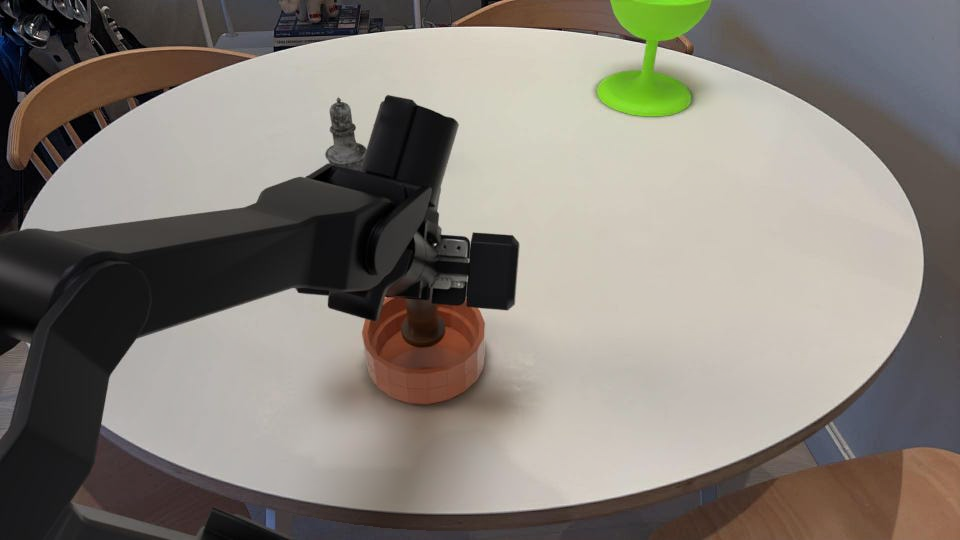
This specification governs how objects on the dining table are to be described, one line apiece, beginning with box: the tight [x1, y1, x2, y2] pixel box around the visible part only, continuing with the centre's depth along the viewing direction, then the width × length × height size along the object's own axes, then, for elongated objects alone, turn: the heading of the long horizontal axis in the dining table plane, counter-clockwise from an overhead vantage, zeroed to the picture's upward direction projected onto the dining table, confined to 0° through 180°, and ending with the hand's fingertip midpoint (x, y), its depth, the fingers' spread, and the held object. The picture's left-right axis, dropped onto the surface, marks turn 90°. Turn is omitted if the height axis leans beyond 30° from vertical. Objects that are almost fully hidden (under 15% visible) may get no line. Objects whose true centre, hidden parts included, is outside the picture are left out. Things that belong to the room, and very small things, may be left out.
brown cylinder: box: [401, 288, 445, 348], centre depth 66 cm, size 4×4×13 cm
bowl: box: [361, 297, 486, 405], centre depth 72 cm, size 12×12×5 cm
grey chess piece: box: [324, 96, 367, 169], centre depth 97 cm, size 6×6×12 cm
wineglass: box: [596, 0, 713, 118], centre depth 114 cm, size 16×16×18 cm
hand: (422, 273), depth 67 cm, fingers closed on brown cylinder, 3 cm apart
